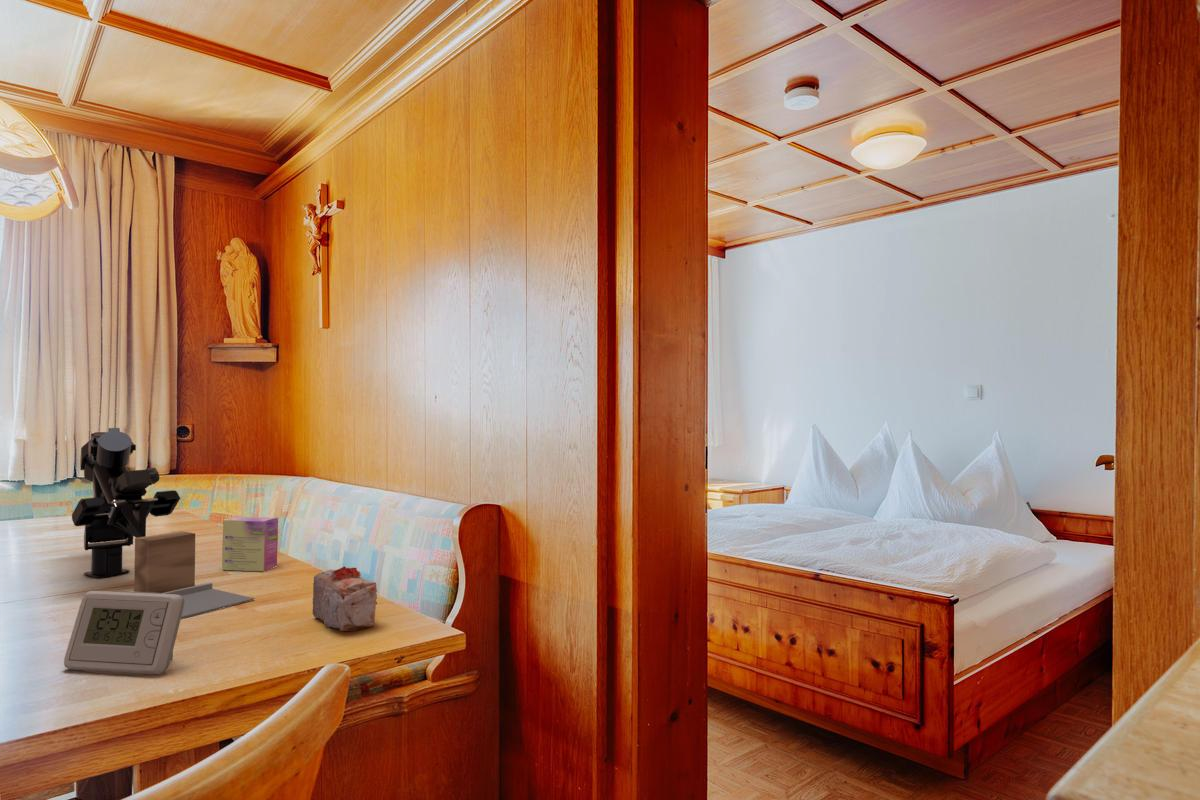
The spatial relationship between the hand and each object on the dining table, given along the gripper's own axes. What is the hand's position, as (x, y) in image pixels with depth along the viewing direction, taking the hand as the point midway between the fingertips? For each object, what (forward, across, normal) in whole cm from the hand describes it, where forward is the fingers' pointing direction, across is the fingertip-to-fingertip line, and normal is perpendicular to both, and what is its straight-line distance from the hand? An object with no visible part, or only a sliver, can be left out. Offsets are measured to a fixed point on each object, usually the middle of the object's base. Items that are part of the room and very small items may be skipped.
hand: (142, 538), depth 144 cm
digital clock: (+38, -23, -22) cm, 50 cm away
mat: (+21, +1, -6) cm, 22 cm away
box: (+8, +23, +7) cm, 26 cm away
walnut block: (+13, 0, +2) cm, 13 cm away
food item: (+45, +7, -29) cm, 54 cm away
